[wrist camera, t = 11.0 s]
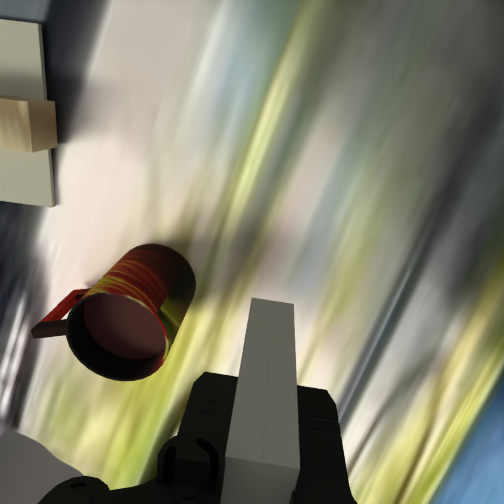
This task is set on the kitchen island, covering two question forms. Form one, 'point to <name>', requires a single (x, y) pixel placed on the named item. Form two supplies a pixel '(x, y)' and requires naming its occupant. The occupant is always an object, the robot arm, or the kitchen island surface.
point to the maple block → (27, 124)
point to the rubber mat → (28, 86)
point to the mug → (126, 314)
